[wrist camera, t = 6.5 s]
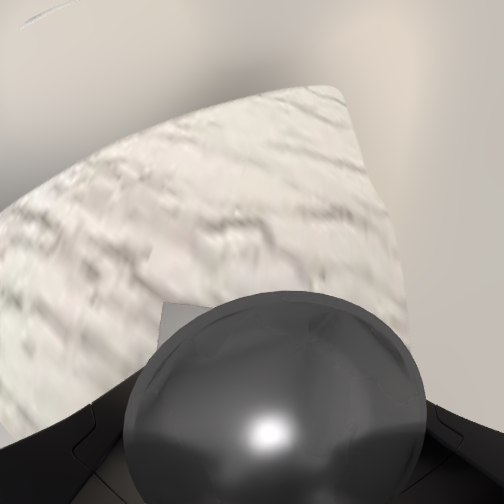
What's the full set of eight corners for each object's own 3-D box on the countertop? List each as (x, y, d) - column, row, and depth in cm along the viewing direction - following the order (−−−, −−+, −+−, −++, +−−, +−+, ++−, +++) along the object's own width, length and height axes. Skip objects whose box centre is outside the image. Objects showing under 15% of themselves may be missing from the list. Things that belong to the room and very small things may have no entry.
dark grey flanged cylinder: (318, 410, 14) (458, 457, 4) (217, 458, 12) (217, 591, 2) (269, 315, 16) (356, 228, 6) (166, 361, 14) (60, 354, 4)
